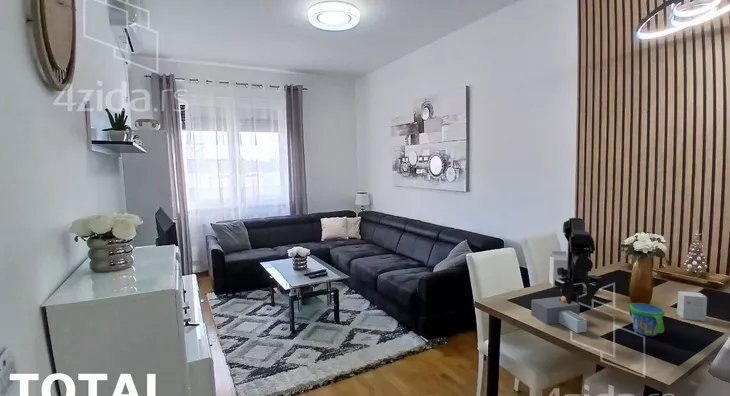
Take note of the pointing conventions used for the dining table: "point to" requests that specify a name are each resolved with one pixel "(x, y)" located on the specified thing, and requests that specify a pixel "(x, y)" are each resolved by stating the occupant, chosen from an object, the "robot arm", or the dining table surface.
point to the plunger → (563, 299)
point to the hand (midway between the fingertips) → (578, 302)
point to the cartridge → (572, 321)
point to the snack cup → (647, 319)
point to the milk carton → (557, 265)
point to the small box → (692, 306)
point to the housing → (551, 309)
